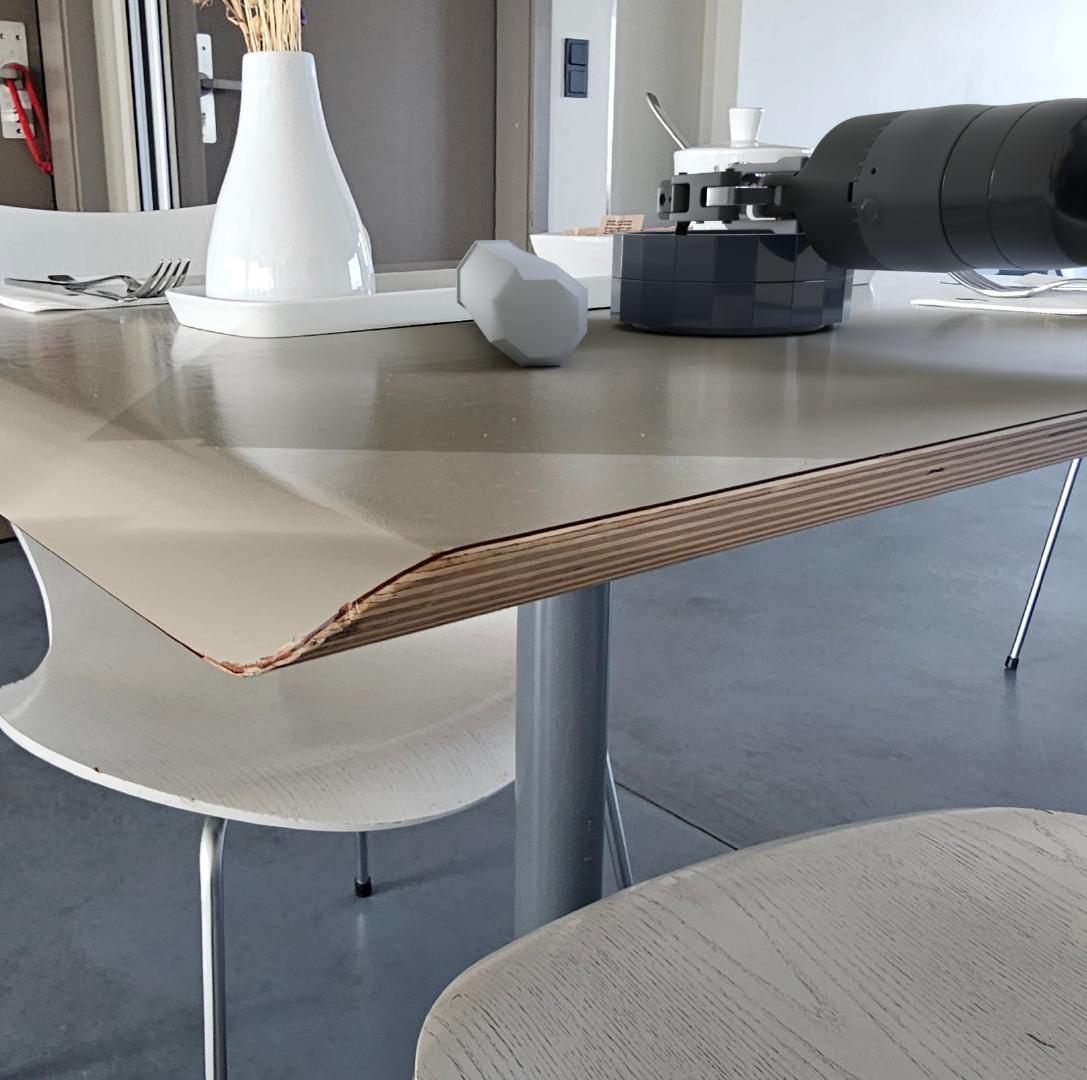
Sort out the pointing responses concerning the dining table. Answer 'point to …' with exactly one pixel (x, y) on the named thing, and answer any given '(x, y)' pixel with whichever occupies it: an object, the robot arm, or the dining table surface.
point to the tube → (522, 302)
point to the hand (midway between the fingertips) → (711, 199)
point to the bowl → (725, 283)
